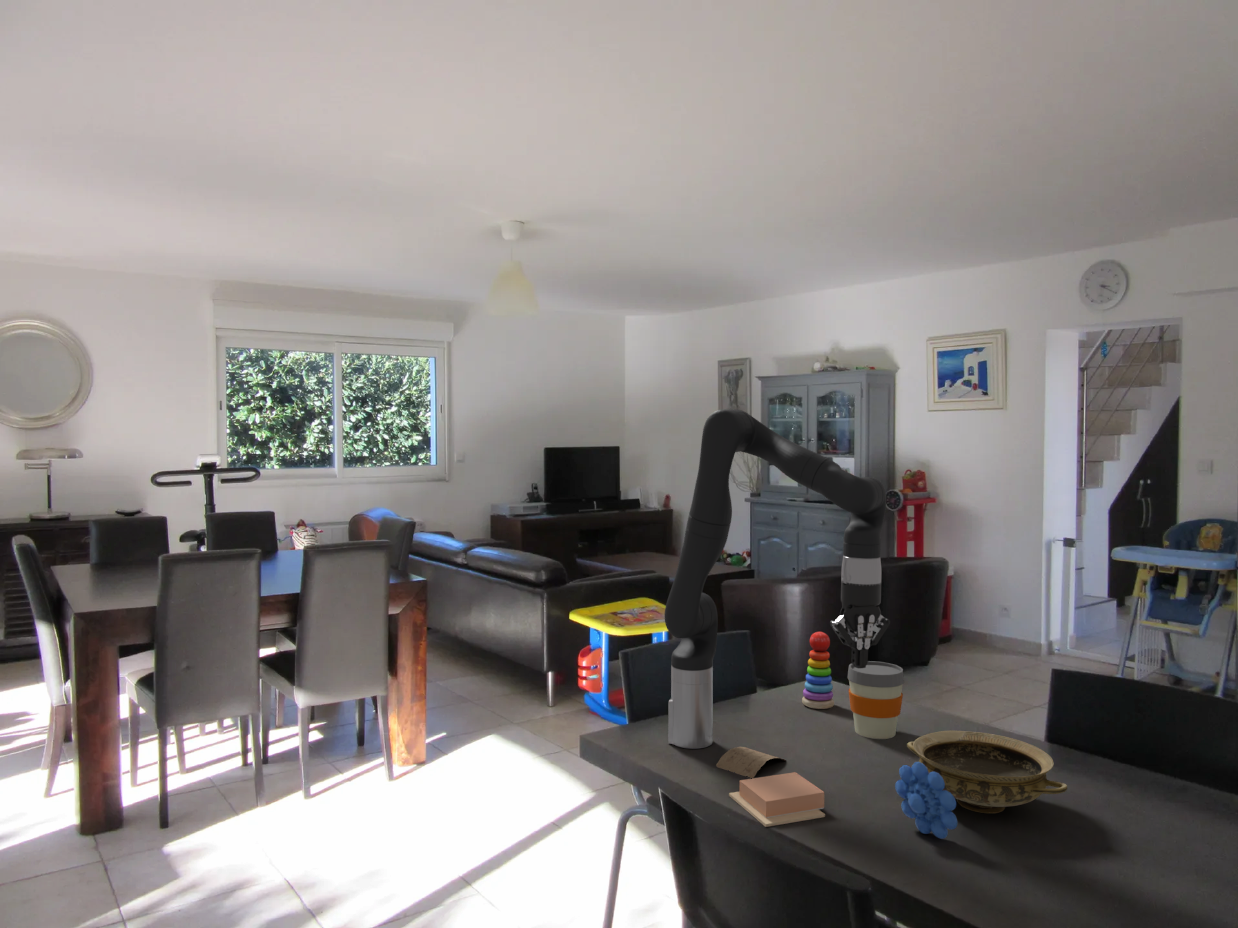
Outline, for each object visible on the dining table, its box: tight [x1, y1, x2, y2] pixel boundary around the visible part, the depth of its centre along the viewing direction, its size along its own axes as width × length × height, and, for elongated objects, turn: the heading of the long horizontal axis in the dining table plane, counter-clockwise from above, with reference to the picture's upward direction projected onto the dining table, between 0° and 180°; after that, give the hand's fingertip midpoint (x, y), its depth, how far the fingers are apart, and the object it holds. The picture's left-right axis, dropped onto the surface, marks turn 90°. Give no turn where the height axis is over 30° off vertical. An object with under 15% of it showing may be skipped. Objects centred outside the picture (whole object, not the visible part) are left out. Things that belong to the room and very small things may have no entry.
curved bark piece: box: [715, 746, 787, 779], centre depth 178 cm, size 14×10×3 cm
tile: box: [738, 771, 825, 818], centre depth 158 cm, size 3×10×12 cm
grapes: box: [894, 761, 958, 840], centre depth 145 cm, size 12×7×12 cm, turn 37°
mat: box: [728, 791, 826, 828], centre depth 157 cm, size 12×14×1 cm
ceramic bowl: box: [906, 730, 1068, 814], centre depth 158 cm, size 30×24×10 cm
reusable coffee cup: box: [847, 660, 905, 740], centre depth 197 cm, size 13×13×15 cm
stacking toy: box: [801, 631, 835, 710], centre depth 217 cm, size 8×8×19 cm
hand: (859, 667), depth 167 cm, fingers closed
